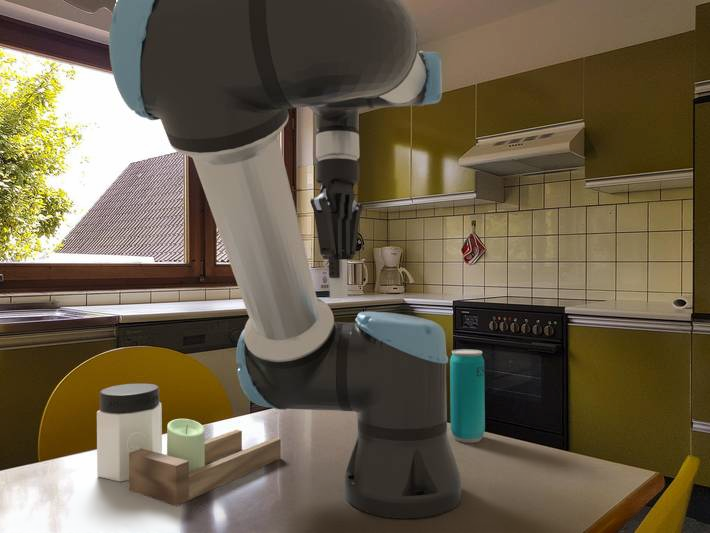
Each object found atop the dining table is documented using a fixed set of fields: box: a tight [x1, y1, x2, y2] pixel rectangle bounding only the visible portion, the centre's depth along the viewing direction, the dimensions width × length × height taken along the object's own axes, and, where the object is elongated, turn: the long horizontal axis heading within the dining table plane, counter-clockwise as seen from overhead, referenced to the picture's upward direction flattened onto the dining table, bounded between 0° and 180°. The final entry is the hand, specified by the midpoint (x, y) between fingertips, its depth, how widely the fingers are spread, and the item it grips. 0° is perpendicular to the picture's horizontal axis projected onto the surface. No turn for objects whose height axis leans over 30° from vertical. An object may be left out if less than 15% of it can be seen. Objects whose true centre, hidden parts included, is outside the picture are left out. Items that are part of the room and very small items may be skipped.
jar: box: [96, 382, 163, 483], centre depth 81 cm, size 9×8×12 cm
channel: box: [128, 429, 282, 507], centre depth 80 cm, size 9×20×5 cm, turn 148°
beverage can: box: [449, 348, 486, 444], centre depth 95 cm, size 6×6×15 cm
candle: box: [166, 418, 206, 472], centre depth 77 cm, size 5×5×8 cm
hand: (338, 297), depth 95 cm, fingers closed
